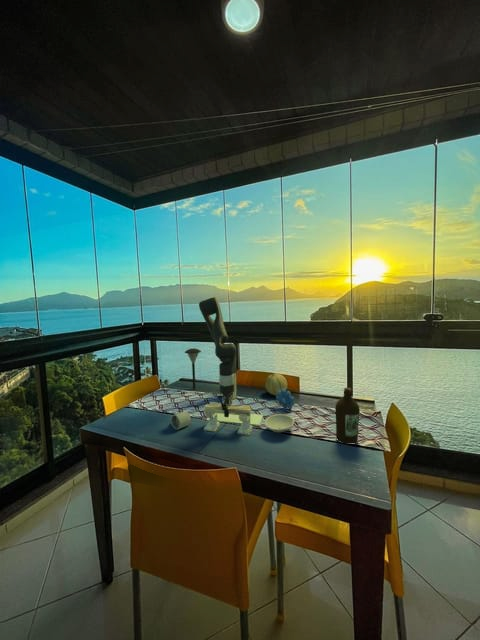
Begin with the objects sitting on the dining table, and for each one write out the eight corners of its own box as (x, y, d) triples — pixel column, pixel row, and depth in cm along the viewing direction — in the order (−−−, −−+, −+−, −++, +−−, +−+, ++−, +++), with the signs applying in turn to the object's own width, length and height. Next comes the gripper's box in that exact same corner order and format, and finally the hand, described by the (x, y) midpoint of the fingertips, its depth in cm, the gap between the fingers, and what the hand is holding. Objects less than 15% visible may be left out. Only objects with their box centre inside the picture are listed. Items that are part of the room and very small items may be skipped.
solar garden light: (183, 392, 202) (181, 351, 199) (189, 386, 214) (187, 347, 211) (199, 392, 200) (198, 351, 197) (204, 387, 212) (203, 347, 209)
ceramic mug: (192, 425, 150) (191, 411, 150) (179, 431, 144) (179, 417, 144) (180, 420, 157) (179, 407, 157) (167, 425, 151) (166, 412, 151)
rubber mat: (213, 411, 168) (213, 410, 168) (263, 416, 160) (263, 415, 160) (206, 420, 156) (206, 419, 156) (259, 425, 149) (259, 424, 149)
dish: (285, 442, 132) (285, 432, 131) (258, 434, 140) (258, 425, 139) (299, 427, 147) (299, 417, 146) (274, 420, 154) (273, 412, 154)
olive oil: (330, 435, 137) (331, 386, 135) (349, 433, 139) (350, 384, 137) (343, 447, 127) (344, 393, 124) (363, 444, 129) (365, 391, 127)
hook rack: (209, 422, 153) (208, 401, 152) (252, 427, 147) (252, 405, 146) (203, 430, 145) (202, 408, 144) (249, 435, 139) (248, 412, 138)
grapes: (273, 409, 169) (273, 390, 168) (277, 405, 175) (277, 386, 174) (292, 413, 163) (292, 393, 162) (295, 408, 169) (295, 389, 168)
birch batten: (206, 409, 149) (206, 404, 148) (251, 413, 143) (250, 407, 142) (204, 411, 146) (204, 406, 145) (249, 416, 140) (249, 410, 139)
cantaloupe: (291, 394, 194) (291, 372, 192) (279, 400, 183) (278, 377, 181) (273, 389, 204) (273, 369, 202) (261, 395, 193) (260, 373, 191)
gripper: (223, 378, 150) (224, 409, 152) (215, 386, 137) (216, 420, 138) (237, 378, 148) (238, 410, 150) (229, 387, 135) (230, 422, 137)
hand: (227, 415), depth 144 cm, fingers closed on birch batten, 3 cm apart
